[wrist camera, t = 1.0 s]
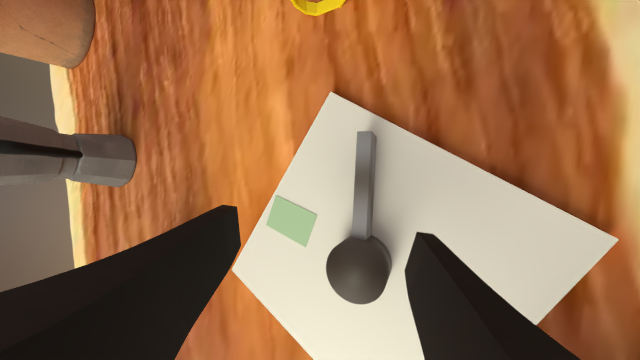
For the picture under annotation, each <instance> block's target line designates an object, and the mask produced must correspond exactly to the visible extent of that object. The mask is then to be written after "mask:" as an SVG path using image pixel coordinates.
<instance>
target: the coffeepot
mask: <svg viewBox="0 0 640 360" xmlns="http://www.w3.org/2000/svg"><path fill="white" fill-rule="evenodd" d="M135 168H136V151H135V147H134V145H133V143H132V142H131V140H129V139H128V138H126V137H124V136H122V135H106V134H76V133H75V134H72V135H67V134H60V133H57V132H56V131H54V130H52V129H49V128H45V127H41V126H37V125H34V124H29V123H26V122H22V121H18V120H13V119H10V118H6V117H2V116H0V185H12V184H24V183H36V182H47V181H51V180H53V179H54V178H64V179H67V178H68V179H70V180H72V181H77V182H84V183H92V184H99V185H107V186H114V187H121V186H123V185H125V184H127V183H128V182H129V181H130V180H131V178H132V176H133V174H134V172H135Z"/></svg>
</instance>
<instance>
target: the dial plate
mask: <svg viewBox="0 0 640 360" xmlns="http://www.w3.org/2000/svg"><path fill="white" fill-rule="evenodd" d="M358 131H372V132H373V133H374V134H375V136H376V137H377V139H376V159H375V178H374V197H373V217H372V236H374V237H376V238H378V239H379V240H380V241H382V242H383V243H384V245H385V246H386V247H387V249H388V251H389V253H390V256H391V260H392V269H391V273H390V276H389V278H388V281H387V284H386V287H385V289H384V291H383V293H382V295H381V296H380V297H379V298H378V299H377V300H375V301H373V302H371V303H368V304H354V303H350V302H348V301H346V300H344V299H343V298H341V297H340V296H339V295H338V294H337V293H336V292H335V291H334V290H333V288H332V287H331V285H330V283H329V281H328V278H327V274H326V262H327V258H328V255H329V254H330V252H331V250H332V249H333V248H334V247H335V246H337V245H338V244H339V243H341V242H342V241H344V240H345V239H347V238H348V237H350V236H351V235H352V220H353V200H354V181H355V162H356V143H357V132H358ZM417 232H423V233H430V234H434V235H435V236H436V237H438V238H439V239H440V240H441V241H442V242H443V243H444V244H445V245H446V246H447V247H448V248H449V249H450V250H451V251H452V252H453V253H454V254H455V255H457V256H458V257H459V258H460V259H461V260H462V261H463V262H464V263H465V264H466V265H467V266H468V267H469V268H470V269H471V270H472V271H473V272H474V273H475V274H477V275H478V276H479V277H480V278H481V279H482V280H483V281H484V282H485V283H486V284H487V285H489V286H490V287H491V288H492V289H493V290H494V291H495V292H496V293H498V294H499V295H500V296H501V297H502V298H503V299H505V300H506V301H507V302H508V303H509V304H510V305H512V306H513V307H514V308H515V309H516V310H517V311H519V312H520V313H521V314H522V315H523V316H525V317H526V318H527V319H528V320H530V321H531V322H532V323H533V324H535V325H537V324H538V323H539V322H540V321H541V320H542V319H543V318H544V317H545V315H546V314H547V313H548V312H549V311H550V310H551V309H552V308H553V307H554V306H555V305H556V304H557V303H558V302H559V301H560V300H561V299H562V298H563V297H564V296H565V295H566V294H567V293H568V292H569V291H570V290H571V289H572V288H573V287H574V286H575V285H576V284H577V282H578V281H579V280H580V279H581V278H582V277H583V276H584V275H585V274H586V273H587V272H588V271H589V270H590V269H591V268H592V267H593V266H594V265H595V264H596V263H597V262H598V261H599V260H600V259H601V258H602V257H603V256H604V255H605V254H606V253H607V252H608V251H609V250H610V248H611V247H612V246H613V245H614V244H615V243H616V242H617V241H618V240H619V239H617V238H615V237H613V236H611V235H609V234H607V233H605V232H603V231H601V230H599V229H598V228H596V227H594V226H592V225H590V224H588V223H586V222H584V221H582V220H580V219H578V218H576V217H574V216H572V215H570V214H568V213H566V212H564V211H562V210H560V209H559V208H557V207H555V206H553V205H551V204H549V203H547V202H545V201H543V200H541V199H539V198H537V197H535V196H533V195H531V194H529V193H527V192H525V191H523V190H521V189H520V188H518V187H516V186H514V185H512V184H510V183H508V182H506V181H504V180H502V179H500V178H498V177H496V176H494V175H492V174H490V173H488V172H486V171H484V170H482V169H480V168H479V167H477V166H475V165H473V164H471V163H469V162H467V161H465V160H463V159H461V158H459V157H457V156H455V155H453V154H451V153H449V152H447V151H445V150H443V149H441V148H440V147H438V146H436V145H434V144H432V143H430V142H428V141H426V140H424V139H422V138H420V137H418V136H416V135H414V134H412V133H410V132H408V131H406V130H404V129H402V128H401V127H399V126H397V125H395V124H393V123H391V122H389V121H387V120H385V119H383V118H381V117H379V116H377V115H375V114H373V113H371V112H369V111H367V110H365V109H363V108H361V107H360V106H358V105H356V104H354V103H352V102H350V101H348V100H346V99H344V98H342V97H340V96H338V95H336V94H334V93H332V92H330V93H329V95H328V97H327V99H326V101H325V102H324V104H323V106H322V108H321V110H320V112H319V113H318V115H317V117H316V119H315V121H314V122H313V124H312V126H311V128H310V130H309V131H308V133H307V135H306V137H305V139H304V140H303V142H302V144H301V146H300V148H299V149H298V151H297V153H296V155H295V157H294V158H293V160H292V162H291V164H290V166H289V167H288V169H287V171H286V173H285V175H284V176H283V178H282V180H281V182H280V184H279V185H278V187H277V189H276V191H275V193H274V194H273V196H272V198H271V200H270V202H269V203H268V205H267V207H266V209H265V211H264V212H263V214H262V216H261V218H260V220H259V221H258V223H257V225H256V227H255V229H254V230H253V232H252V234H251V236H250V238H249V239H248V241H247V243H246V245H245V247H244V248H243V250H242V252H241V254H240V256H239V257H238V259H237V261H236V263H235V265H234V266H233V268H232V271H233V272H234V273H235V274H236V275H237V276H238V277H239V278H240V279H241V281H242V282H243V283H244V284H245V285H246V286H247V287H248V288H249V289H250V290H251V292H252V293H253V294H254V295H255V296H256V297H257V298H258V299H259V300H260V301H261V302H262V304H263V305H264V306H265V307H266V308H267V309H268V310H269V311H270V312H271V313H272V314H273V316H274V317H275V318H276V319H277V320H278V321H279V322H280V323H281V324H282V325H283V326H284V328H285V329H286V330H287V331H288V332H289V333H290V334H291V335H292V336H293V337H294V339H295V340H296V341H297V342H298V343H299V344H300V345H301V346H302V347H303V348H304V349H305V351H306V352H307V353H308V354H309V355H310V356H311V357H312V358H313V359H314V360H425V358H424V355H423V351H422V347H421V344H420V340H419V336H418V333H417V329H416V325H415V322H414V318H413V314H412V310H411V306H410V303H409V299H408V293H407V287H406V280H405V272H404V270H405V267H406V264H407V261H408V258H409V255H410V251H411V248H412V245H413V242H414V239H415V236H416V233H417Z"/></svg>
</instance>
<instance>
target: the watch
mask: <svg viewBox="0 0 640 360" xmlns="http://www.w3.org/2000/svg"><path fill="white" fill-rule="evenodd" d="M345 1H346V0H323V1H321V2H318V3H314V2H309V1H306V0H291V2H292V3H293V5H294V7H296V8H297V9H298V10H300V11H301V12H303V13H304V14H307V15H312V16H319V15H321V14H324V13H326V12H329V11H331V10H334V9H336V8H341V7H342V5H343V4H344V2H345Z"/></svg>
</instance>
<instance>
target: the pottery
mask: <svg viewBox="0 0 640 360" xmlns="http://www.w3.org/2000/svg"><path fill="white" fill-rule="evenodd" d="M94 28H95V8H94V4H93V0H0V52H2V53H7V54H10V55H14V56H19V57H23V58H27V59H32V60H36V61H40V62H44V63H48V64H53V65H57V66H61V67H65V68H68V69H70V68H74V67H77V66H78V65H79V64H80V63H81V62H82V61H83V60H84V58H85V56H86V54H87V52H88V51H89V48H90V45H91V42H92V39H93V34H94Z"/></svg>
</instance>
